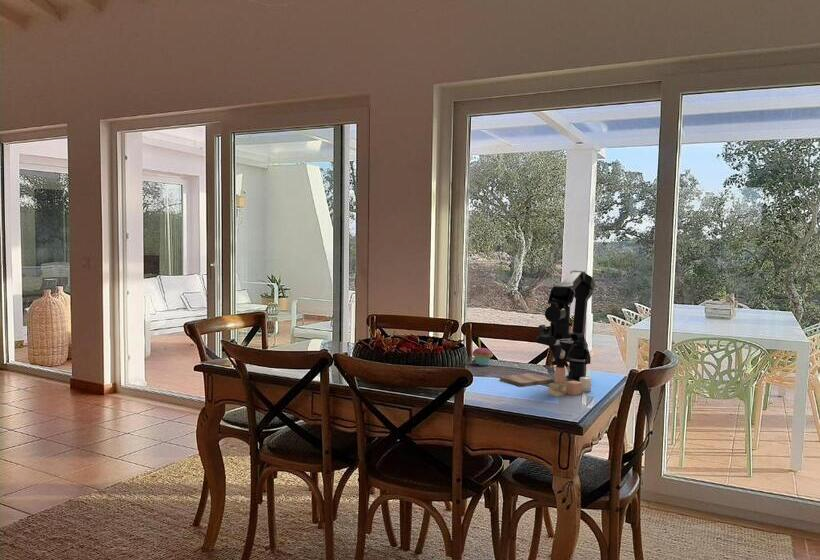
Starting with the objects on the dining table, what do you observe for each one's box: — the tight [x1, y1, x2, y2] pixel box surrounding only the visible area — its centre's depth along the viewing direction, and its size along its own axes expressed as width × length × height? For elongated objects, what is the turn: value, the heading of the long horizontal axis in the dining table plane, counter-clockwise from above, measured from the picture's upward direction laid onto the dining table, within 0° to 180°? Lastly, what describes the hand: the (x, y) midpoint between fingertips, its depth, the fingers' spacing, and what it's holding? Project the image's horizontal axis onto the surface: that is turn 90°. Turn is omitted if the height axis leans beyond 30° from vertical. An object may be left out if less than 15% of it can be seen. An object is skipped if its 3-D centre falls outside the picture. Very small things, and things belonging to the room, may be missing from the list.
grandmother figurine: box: [549, 349, 570, 384], centre depth 236 cm, size 8×4×13 cm, turn 65°
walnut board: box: [499, 372, 554, 388], centre depth 248 cm, size 16×12×1 cm
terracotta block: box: [565, 380, 583, 396], centre depth 231 cm, size 4×4×4 cm
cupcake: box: [472, 336, 494, 366], centre depth 278 cm, size 9×8×12 cm
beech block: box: [548, 381, 566, 398], centre depth 228 cm, size 4×4×4 cm
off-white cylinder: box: [579, 376, 592, 393], centre depth 235 cm, size 4×4×4 cm
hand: (559, 362), depth 236 cm, fingers closed on grandmother figurine, 3 cm apart
